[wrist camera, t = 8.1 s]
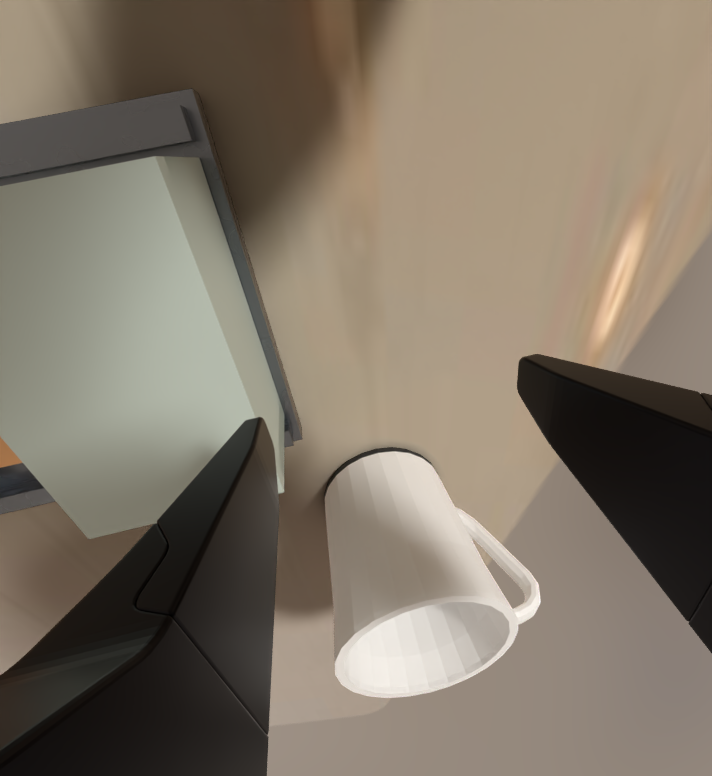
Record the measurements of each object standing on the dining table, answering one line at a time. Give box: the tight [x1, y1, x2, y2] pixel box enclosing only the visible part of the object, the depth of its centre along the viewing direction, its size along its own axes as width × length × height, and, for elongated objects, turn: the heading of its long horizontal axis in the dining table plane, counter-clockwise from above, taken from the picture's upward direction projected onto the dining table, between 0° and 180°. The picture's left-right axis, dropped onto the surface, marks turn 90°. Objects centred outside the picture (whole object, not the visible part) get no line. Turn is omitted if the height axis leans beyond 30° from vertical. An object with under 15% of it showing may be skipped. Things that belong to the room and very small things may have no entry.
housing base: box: [0, 89, 302, 514], centre depth 16 cm, size 18×16×5 cm
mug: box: [324, 447, 541, 698], centre depth 22 cm, size 11×9×10 cm
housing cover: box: [0, 156, 284, 539], centre depth 15 cm, size 8×12×6 cm, turn 10°
